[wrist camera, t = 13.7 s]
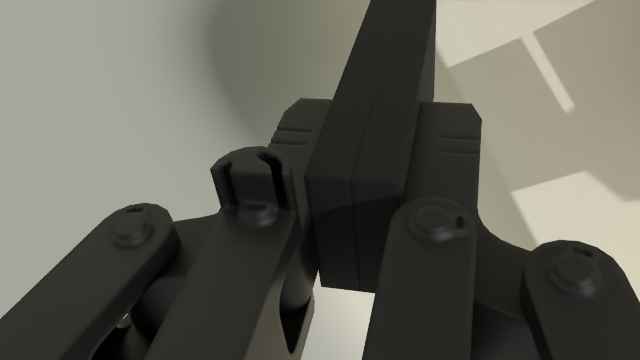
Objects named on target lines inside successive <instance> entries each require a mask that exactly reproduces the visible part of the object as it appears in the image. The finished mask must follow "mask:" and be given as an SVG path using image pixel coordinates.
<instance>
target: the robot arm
mask: <svg viewBox="0 0 640 360" xmlns="http://www.w3.org/2000/svg"><path fill="white" fill-rule="evenodd" d="M435 35H436V0H371V1H370V4H369V7H368V9H367V12H366V14H365V17H364V20H363V22H362V25H361V27H360V30H359V33H358V35H357V38H356V41H355V43H354V46H353V48H352V51H351V53H350V56H349V59H348V61H347V64H346V66H345V69H344V72H343V75H342V77H341V80H340V82H339V85H338V88H337V90H336V93H335V95H334V98H333V100H329V99H306V98H305V99H304V98H300V99H299V100H298V101H297V102H296V103H294V104H293V105H292V106H291V107H290V108H288V109H287V110H286V111H285V112H284V114H283V116H282V118H281V120H280V122H279V125H278V127H277V131H275V133H274V135H273V137H272V139H271V144H269V145H268V147H263V146H258V147H245V148H242V149H239V150H235V151H232V152H230V153H228V154H227V155H225V156H223V157H222V158H220V159H218V161H217V162H216V163H215V164H214V165H213V166H212V168H211V169H210V171H211V174H212V177H213V181H214V184H215V188H216V191H217V194H218V198H219V201H220V205H221V208H220V210H219V212H218V213H217V214H214V215H210V216H205V217H200V218H194V219H188V220H181V221H175V222H173V220H172V218H171V216H170V214H169V213H168V211H167V210H166V209H164V208H162V207H160V206H159V205H157V204H149V203H141V204H135V205H129V206H127V207H125V208H122V209H120V210H118V211H115V212H114V213H112V214H111V215H110V216H108V217H107V218H105V219H104V220H103V221H102V222H101V223H100V224H99V225H98V226H97V227H95V228H94V230H92V231H91V232H90V233H89V234H88V235H87V236H86V237H85V238H84V239H83V240H82V241H81V242H80V243H79V244H78V245H77V246H76V247H75V248H74V249H73V250H72V251H71V252H70V253H68V255H66V256H65V257H64V258H63V259H62V260H61V261H60V262H59V263H58V264H57V265H56V266H55V267H54V268H53V269H52V270H51V271H50V272H49V273H48V274H47V275H46V276H45V277H44V278H43V279H41V280H40V281H39V282H38V283H37V284H36V285H35V286H34V287H33V288H32V289H31V290H30V291H29V292H28V293H27V294H26V295H25V296H24V297H23V298H22V299H21V300H20V301H19V302H18V303H17V304H16V305H15V306H14V307H12V308H11V309H10V310H9V311H8V312H7V313H6V314H5V315H4V316H3V317H2V318H1V319H0V360H300V359H301V356H302V352H303V349H304V345H305V342H306V338H307V335H308V331H309V327H310V324H311V321H312V317H313V314H314V302H315V300H314V295H313V286H314V282H315V279H316V276H317V272H318V269H319V276H320V282H321V287H329V288H337V289H345V290H353V291H362V292H369V293H375V298H374V303H373V308H372V313H371V317H370V322H369V327H368V332H367V337H366V341H365V346H364V351H363V356H362V360H640V302H639V300H638V298H637V296H636V294H635V292H634V290H633V289H632V287H631V285H630V283H629V281H628V279H627V277H626V275H625V273H624V271H623V270H622V269H621V268H620V266H619V265H618V264H617V262H616V261H615V260H614V259H613V258H612V257H611V256H609V255H608V254H606V253H605V252H603V251H602V250H600V249H599V248H597V247H594V246H591V245H588V244H585V243H582V242H579V241H568V240H557V241H552V242H548V243H544V244H541V245H540V246H538V247H537V248H536V249H534V250H533V251H528V250H525V249H523V248H520V247H517V246H514V245H512V244H509V243H507V242H505V241H503V240H501V239H499V238H498V237H496V236H495V235H494V234H492V233H491V232H489V230H488V229H487V228H486V227H485V226H484V225H483V223H482V221H481V219H480V217H479V215H478V208H477V201H478V182H479V163H480V162H479V161H480V143H481V124H482V119H481V118H480V116H479V114H478V113H477V111H476V110H475V108H474V107H473V105H472V104H466V103H441V102H433V98H434V73H435V71H434V70H435ZM126 314H128V315H127V316H126V317H125V318H124V319H123V317H124V316H125V315H126ZM122 319H123V320H122Z"/></svg>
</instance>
